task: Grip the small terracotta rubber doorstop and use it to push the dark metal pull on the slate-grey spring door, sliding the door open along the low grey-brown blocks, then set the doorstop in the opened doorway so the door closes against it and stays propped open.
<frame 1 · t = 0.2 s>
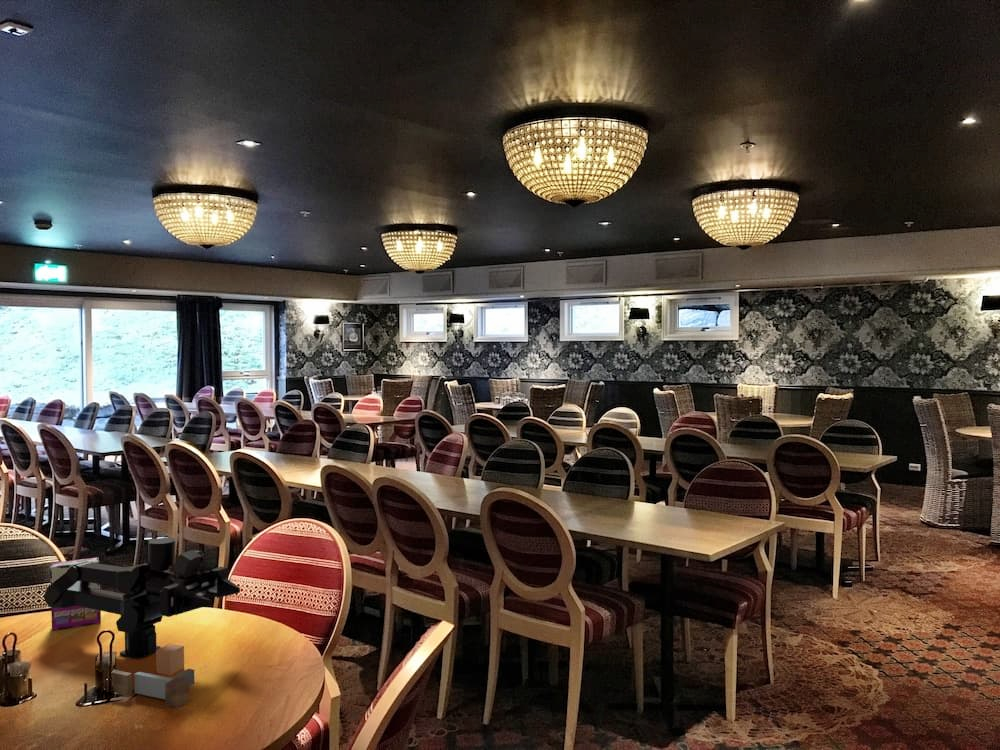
hand: (225, 596, 172), 16 cm above the table, tool horizontal, fingers open, 9 cm apart
sliding door: (164, 680, 161), point 2 cm above the table, slide at 0.0 cm
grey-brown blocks: (144, 699, 158), on the table
candy bar box: (76, 625, 200), on the table
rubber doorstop: (170, 670, 172), on the table
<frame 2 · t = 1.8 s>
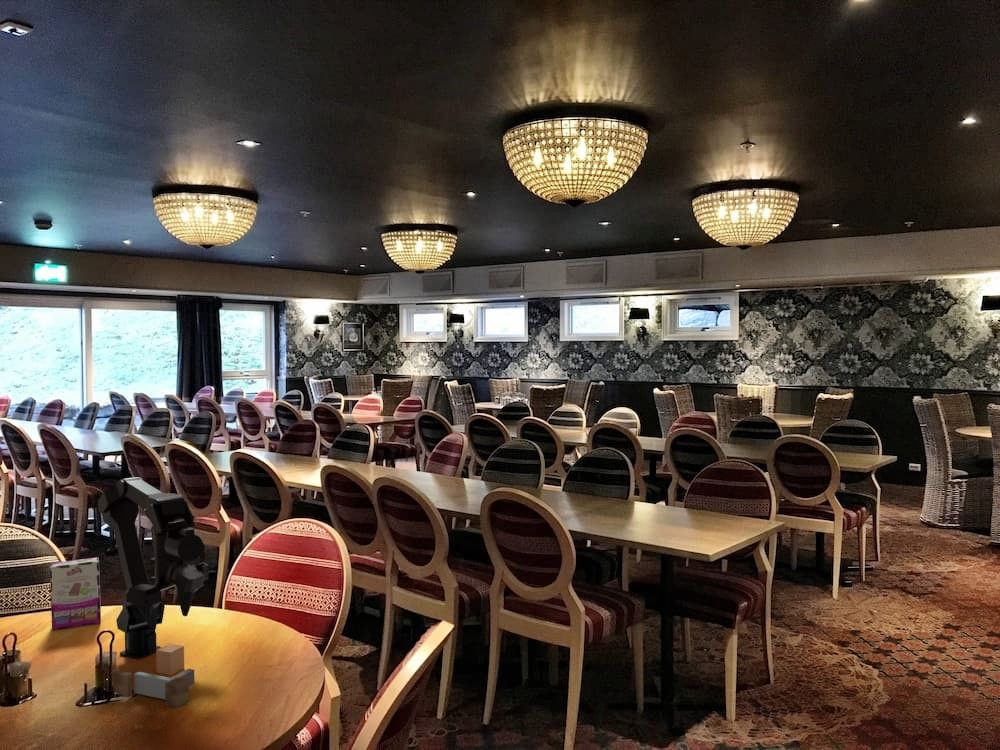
hand: (169, 622, 171), 11 cm above the table, tool pointing down, fingers open, 9 cm apart
nothing on the table moved.
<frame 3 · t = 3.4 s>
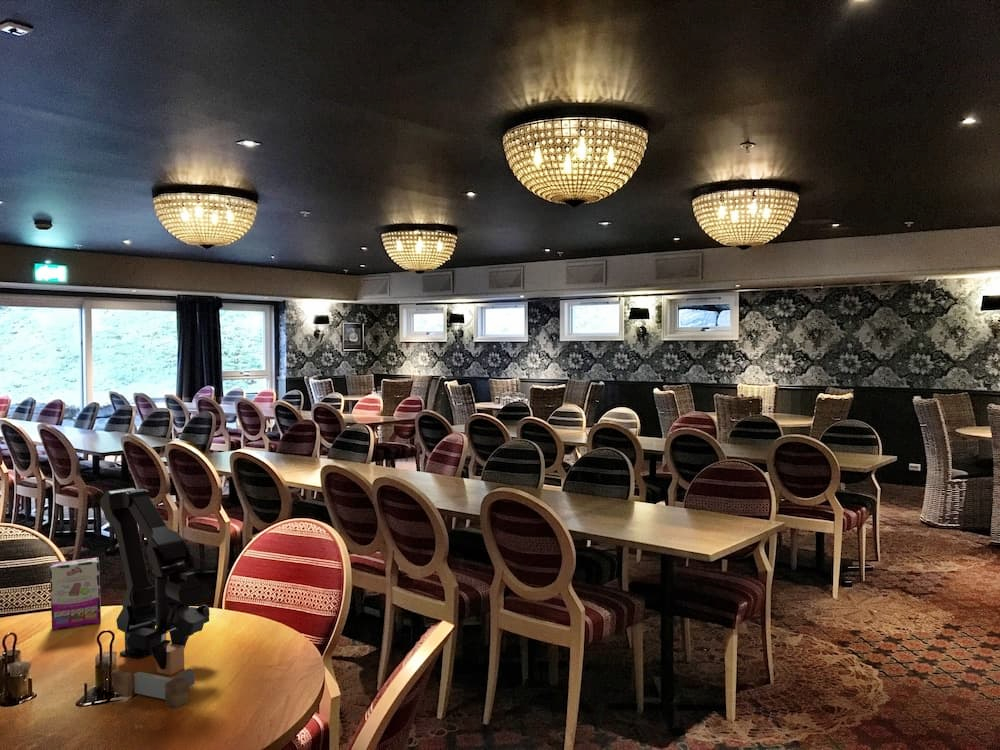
hand: (170, 665, 172), 1 cm above the table, tool pointing down, fingers closed on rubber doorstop, 4 cm apart
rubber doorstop: (170, 669, 172), on the table, touching gripper
everything else where it was.
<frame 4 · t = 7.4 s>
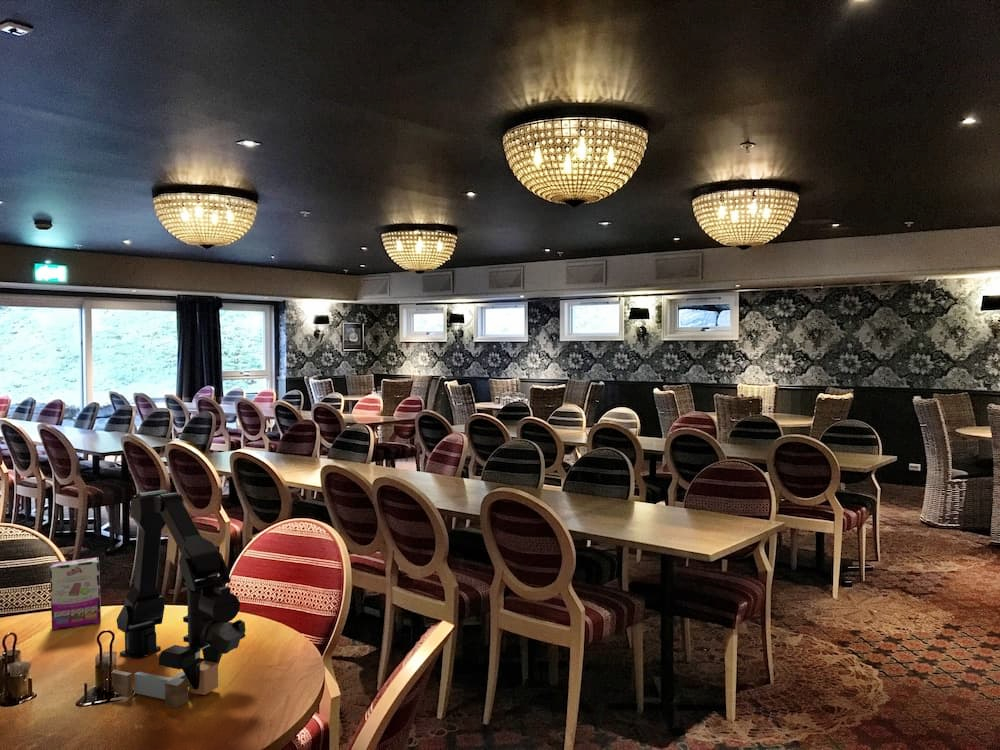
hand: (203, 684, 160), 2 cm above the table, tool pointing down, fingers closed on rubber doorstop, 4 cm apart
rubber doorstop: (203, 689, 160), point 1 cm above the table, touching gripper
everything else where it was.
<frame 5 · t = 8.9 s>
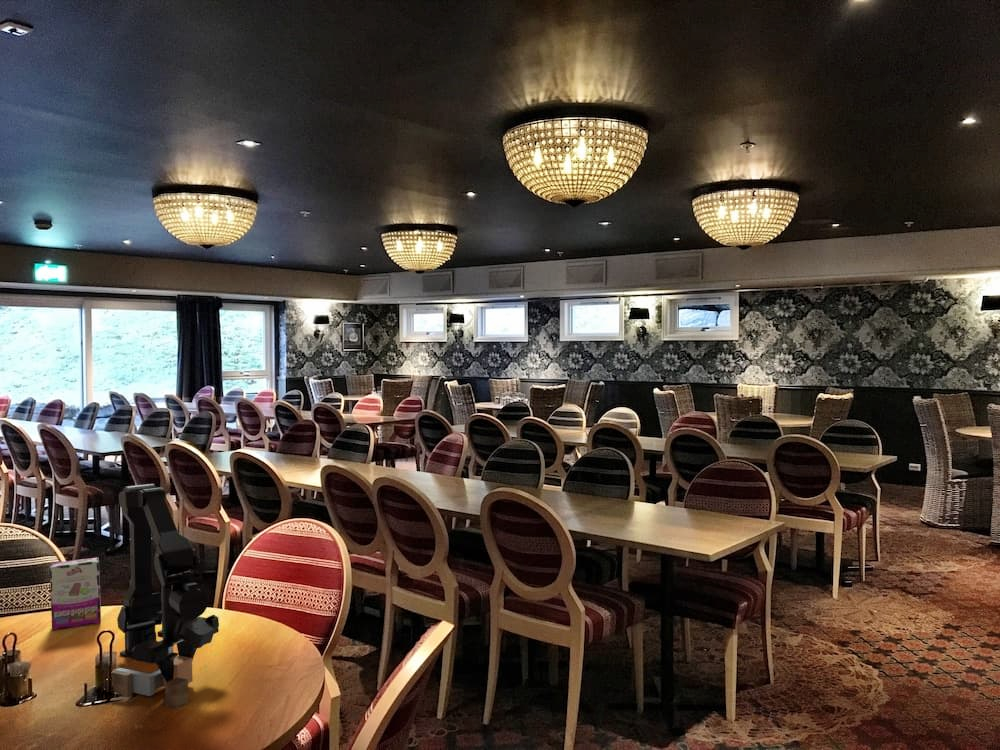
hand: (177, 678, 163), 2 cm above the table, tool pointing down, fingers closed on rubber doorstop, 4 cm apart
sliding door: (144, 676, 163), point 2 cm above the table, slide at 5.4 cm, touching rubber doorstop
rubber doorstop: (178, 683, 163), point 1 cm above the table, touching gripper, sliding door
everything else where it was.
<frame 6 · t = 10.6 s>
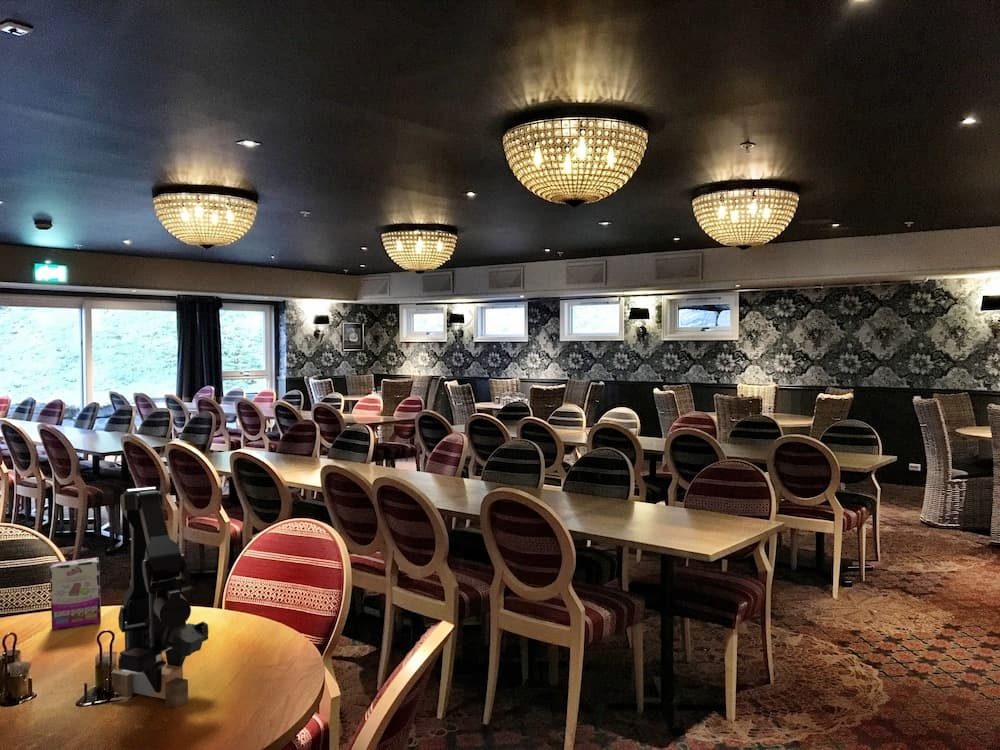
hand: (166, 687, 158), 2 cm above the table, tool pointing down, fingers closed on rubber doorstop, 4 cm apart
sliding door: (150, 677, 162), point 2 cm above the table, slide at 3.8 cm
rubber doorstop: (168, 693, 158), point 1 cm above the table, touching gripper, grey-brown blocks
everything else where it was.
when the fingers open (2 cm above the table, at t = 11.6 s): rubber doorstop stays where it is, resting on sliding door, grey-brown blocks.
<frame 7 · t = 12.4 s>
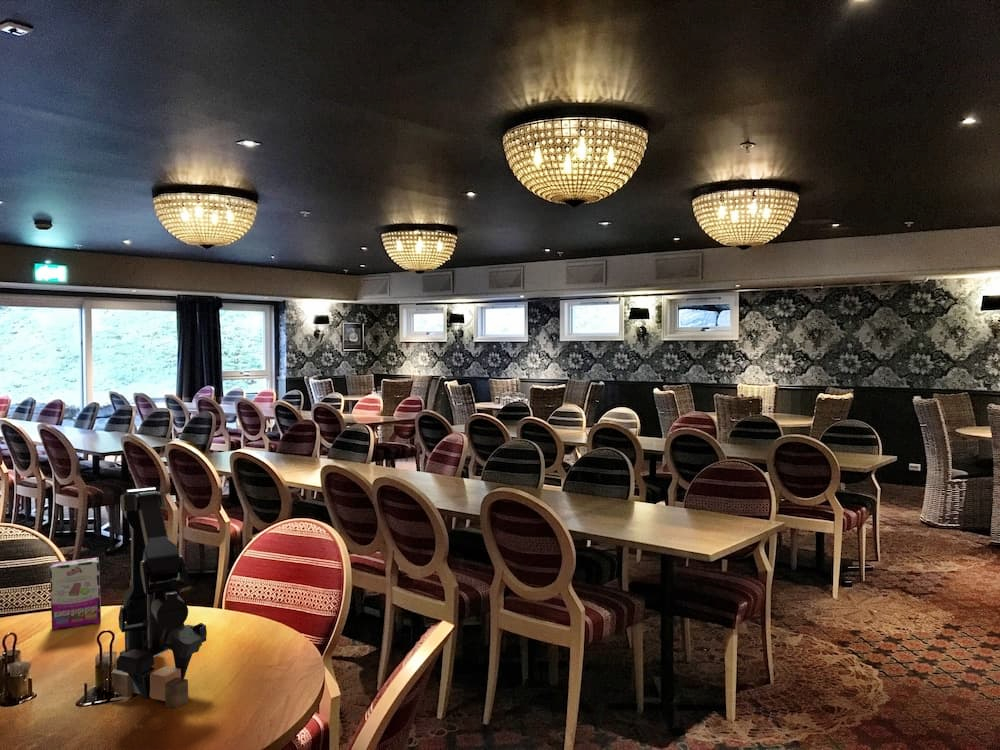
hand: (164, 689, 158), 2 cm above the table, tool pointing down, fingers open, 9 cm apart
sliding door: (150, 677, 162), point 2 cm above the table, slide at 3.8 cm, touching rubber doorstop
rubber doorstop: (166, 695, 158), point 1 cm above the table, touching sliding door, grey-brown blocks
everything else where it was.
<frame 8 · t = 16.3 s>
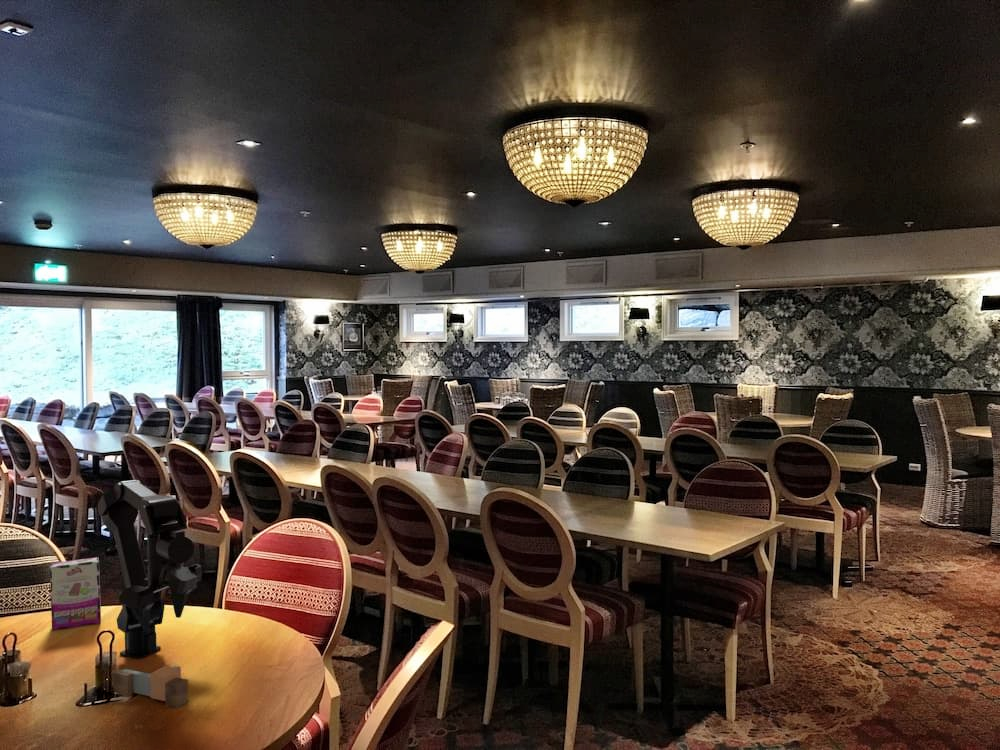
hand: (162, 624, 172), 10 cm above the table, tool pointing down, fingers open, 9 cm apart
nothing on the table moved.
at the end: sliding door slide at 3.8 cm; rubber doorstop 0.1 cm from the target spot, point 0.8 cm above the table; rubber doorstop tilted 0° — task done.
